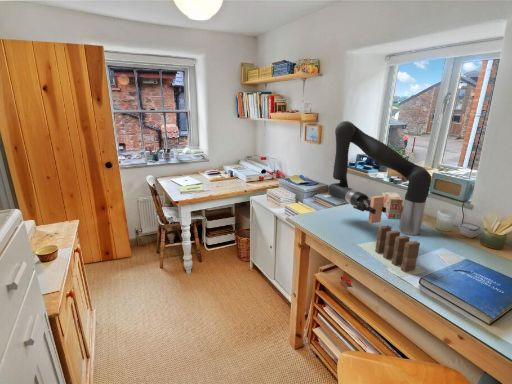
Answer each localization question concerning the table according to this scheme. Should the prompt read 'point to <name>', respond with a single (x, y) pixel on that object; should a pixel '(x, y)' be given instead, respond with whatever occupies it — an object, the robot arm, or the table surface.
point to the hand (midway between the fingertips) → (380, 211)
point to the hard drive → (449, 258)
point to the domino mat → (388, 260)
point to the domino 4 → (410, 256)
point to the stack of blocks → (392, 205)
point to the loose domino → (376, 204)
